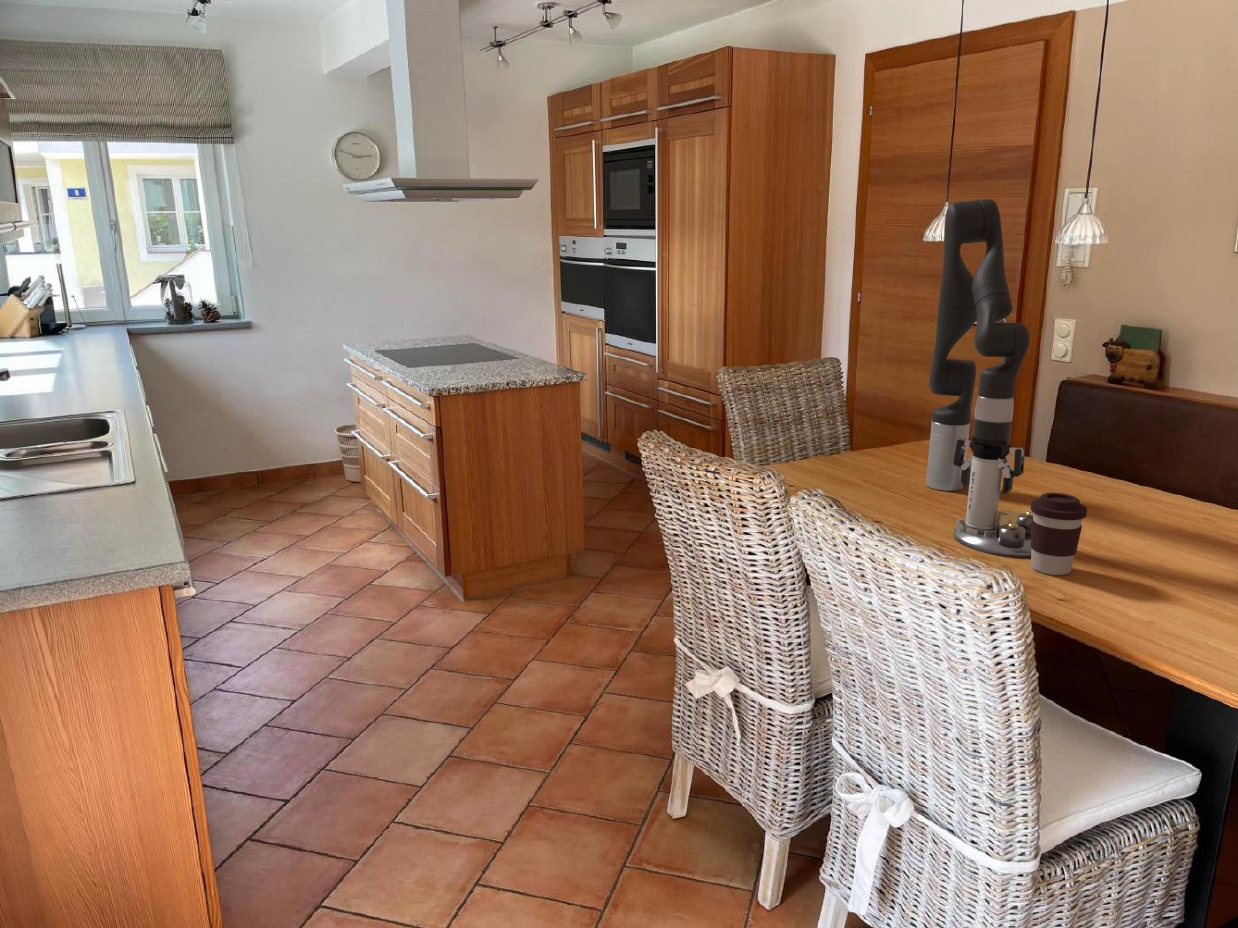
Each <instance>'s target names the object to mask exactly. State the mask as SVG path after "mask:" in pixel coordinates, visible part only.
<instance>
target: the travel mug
mask: <svg viewBox="0 0 1238 928" xmlns="http://www.w3.org/2000/svg"><path fill="white" fill-rule="evenodd" d="M973 451H974V452H972V454H973V456H972V457H973V458H972V465H971V467H970V469H971V475H970V484H969V486H968V496H967V507H966V513H965V514H966V516H965V522H966V523H965V528H966V529H967V528H971V529H975V530H979V533H980V534H984V531H995V530H996V522H997V517H998V511H999V502H1000V493H1001V485H1002V478H1003V477H1002V476H1003V472H1002V471H1001V470H1000V469H999V467H998V462H999V458H1001V452H1002V448H995V447H993V448H992V447H988V446H985V447H984V445H978V444H976V443H975V442H974V448H973ZM1003 459H1004V458H1003ZM1003 459H1001V460H1002V461H1003ZM999 464H1000V463H999Z"/></svg>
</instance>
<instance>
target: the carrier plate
mask: <svg viewBox="0 0 1238 928" xmlns="http://www.w3.org/2000/svg"><path fill="white" fill-rule="evenodd" d="M1032 519H1033V512H1032V511H1031V510H1030V511H1026V512H1025V513H1024V512H1023V513H1018V512H1016V511H1013V510H1008V509H1002V510H998V513H997V522H996V530H995V531H984V534H980V533H979V530H975V529H971V528H967V529H966V528H965V523H966V521H965V520H964V517H962V518H961V517H960V518H958V519H955V524H954V528H953V538H954V539H955V540H956V541H957V542H958V543H960V544H961V545H963V546H965V547H967V548H970V549H972V550H975V551H979V552H981V553H985V554H989V555H995V556H999V557H1009V558H1019V559H1020V558H1022V559H1023V558H1027V559H1028V558H1030V559H1031V551H1032V548H1031V527H1032Z"/></svg>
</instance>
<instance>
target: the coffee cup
mask: <svg viewBox="0 0 1238 928" xmlns="http://www.w3.org/2000/svg"><path fill="white" fill-rule="evenodd" d="M1030 511H1031V512H1033V519H1032V527H1031V548H1032V551H1031V558H1030V566H1031V568H1032V569H1033V570H1035V571H1037V572H1039V573H1041V574H1044V575H1048V576H1049V575H1051V576H1066V575H1068V574H1070V573H1071V571H1072V567H1073V564H1074V558H1075V555H1076V554H1077V552H1078V551H1077V550H1078V547H1079V541H1080V537H1081V532H1082V529H1083V525H1082V521H1083V520H1084V519H1085V518H1087V514H1088V508H1087V506H1086V505H1084V504H1082V503H1081V502H1080V499H1079V498H1078V497H1076V496H1075V495H1071V494H1068V493H1067V494H1066V493H1060V492H1045V493H1043V494H1041V495H1040V496H1039V498H1036V499H1033V500H1032V501H1031V502H1030Z"/></svg>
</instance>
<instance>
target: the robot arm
mask: <svg viewBox="0 0 1238 928" xmlns="http://www.w3.org/2000/svg"><path fill="white" fill-rule="evenodd" d="M1000 214H1001V213H1000V209H999V206H998V204H997V202H996V201H995V200H993V199H991V198H990V199H989V198H986V199H985V198H983V199H974V200H973V199H971V200H964V201H956V202H953V203H950V204H949V205H948V206H947V209H946V211H945V218H944V230H943V231H944V232H943V234H944V235H943V259H942V260H943V261H942V262H943V263H942V264H943V265H942V273H941V281H940V290H939V294H938V295H939V297H938V305H937V318H936V333H935V336H936V337H935V342H934V348H933V354H932V360H931V365H930V371H929V385H928V386H929V389H930V392H931V393H932V394H934V395H939V396H950V397H951V396H952V397H953V396H954V397H958V398H957V400H956V401H954V402H952V403H950V404H948V405H944V406H941V407H940V406H939V407H937V408H935V409H933V411H932V415H931V426H930V427H931V428H930V437H929V447H928V448H929V449H928V460H927V468H926V480H925V485H926V486H927V487H928V488H931V489H934V490H940V491H946V492H947V491H950V492H951V491H960V490H962V489H964V488H967V487H969V484H970V475H971V465H972V458H973V457H972V456H973V452H974V451H973V448H974V442H975V443H976V444H978V445H984V447H985V446H988V447H992V448H993V447H995V448H1002V452H1001V458H999V462H998V467H999V469H1000V470H1001V471H1002V475H1004V477H1003V480H1002V487H1001V494H1002V495H1005V496H1006V495H1008V494H1009V493H1010V492H1011V491H1012V490H1013V484H1014V478H1017V477H1020V476H1022V475H1023V474H1024V472H1025V471H1024V470H1025V455H1026V454H1025V453H1026V448H1025V447H1023V446H1022V447H1011V443H1010V442H1011V434H1012V433H1011V432H1012V425H1013V416H1014V407H1015V406H1014V395H1015V388H1016V380H1017V376H1018V374H1019V371H1020V368H1021V366H1022V363H1023V360H1024V358H1025V357H1026V354H1027V351H1028V349H1029V346H1030V341H1031V340H1030V339H1031V337H1030V336H1031V335H1030V332H1029V329H1028V327H1027V326H1026V325H1025V324H1023V323H1020V322H999V321H1002V320H1005V319H1007V318H1008V317H1009V316H1010V315H1011V313H1012V311H1013V303H1012V298H1011V294H1010V289H1009V284H1008V280H1007V277H1006V269H1005V256H1004V253H1005V252H1004V241H1003V231H1002V230H1003V229H1002V221H1001V215H1000ZM982 242H985V245H986V247H985V248H986V249H985V254H984V256H983V258H982V260H981V262H980V264H979V266H978V268H977V270H976V272H975V273H974V276H973V275H972V274H971V272H970V270H969V269H968V267H967V266H966V263H965V262H964V259H963V258H962V256H961V255H962V254H961V247H962V245H964V244H975V243H982ZM975 323H976V326H975V327H976V328H975V334H974V346H975V350H976V351H977V353H978V354H979V355H980V356H982V357H985V358H986V357H987V358H995V357H996V358H1002V360H1001V361H1000V363H998V364H996V365H994V366H990V367H986V368H983V369H982V370H981V372H980V374H979V382H978V391H977V398H976V403H975V407H974V411H973V412H974V413H973V414H974V415H973V416H974V417H973V418H974V419H973V427H972V435H971V436H972V439H971V440H969V436H970V428H971V427H970V426H971V415H972V414H971V413H972V406H973V405H972V404H973V403H972V402H973V398H974V389H975V386H976V378H977V365H976V363H975V361H974V360H971V359H960V358H958V359H957V358H956V359H955V358H948V356H949V354H950V352H951V350H953V348H954V347H955V346H956V344H957V343H958V342H959V341H960V339H962V338H963V337H964V336H965V335H966V334H967V333H968V332H969V330H971V328H972V327H973V326H974V324H975ZM968 448H970V450H971V452H972V453H971V455H970V456H969V457H968V458H967V456H968ZM1009 454H1011V456H1012V458H1013V459H1014V461H1013V467H1012V465H1011V462H1010V460H1009V459H1008V457H1007V456H1008V455H1009ZM1003 458H1004V459H1003ZM1001 459H1003V461H1002V460H1001ZM999 463H1000V464H999Z"/></svg>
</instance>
